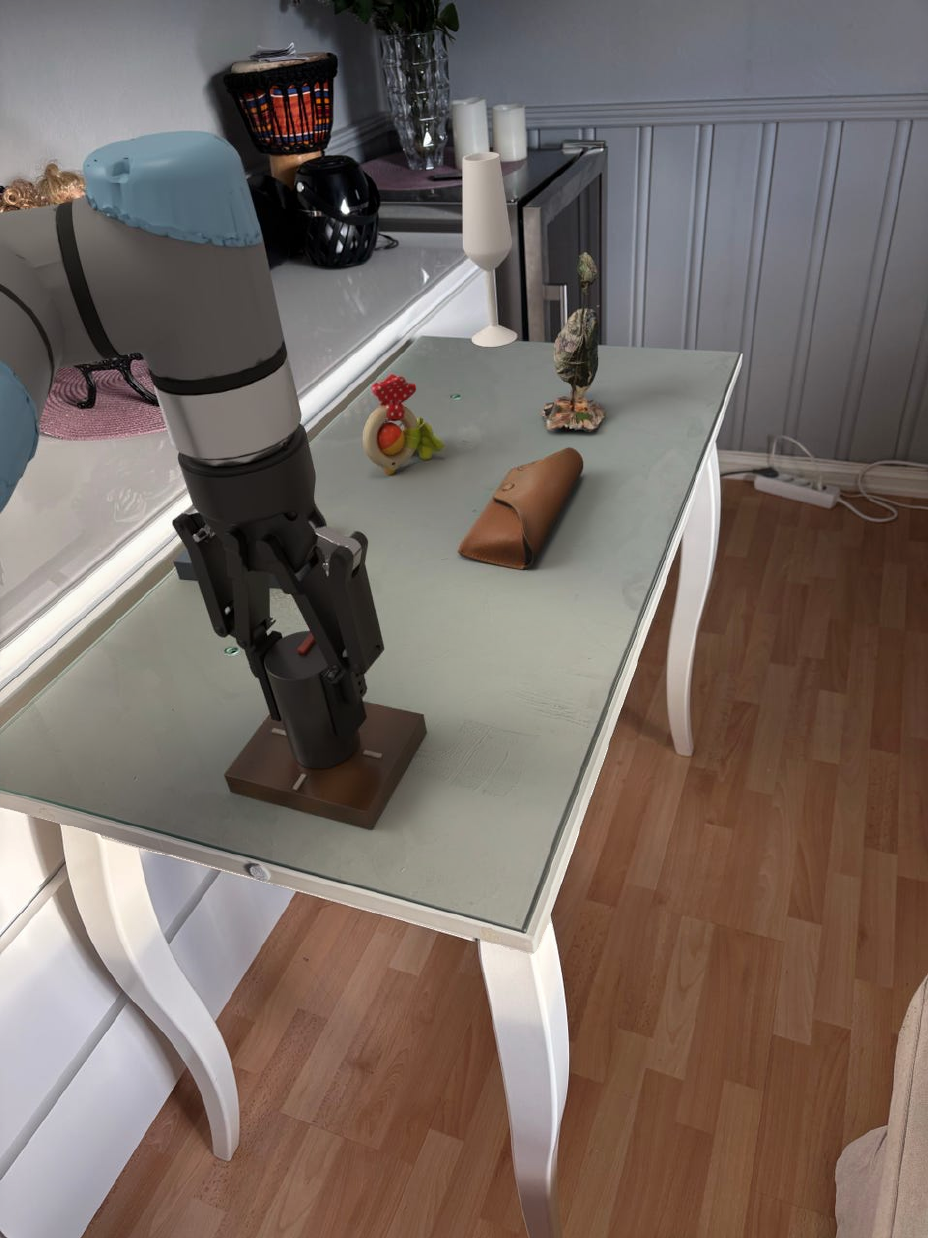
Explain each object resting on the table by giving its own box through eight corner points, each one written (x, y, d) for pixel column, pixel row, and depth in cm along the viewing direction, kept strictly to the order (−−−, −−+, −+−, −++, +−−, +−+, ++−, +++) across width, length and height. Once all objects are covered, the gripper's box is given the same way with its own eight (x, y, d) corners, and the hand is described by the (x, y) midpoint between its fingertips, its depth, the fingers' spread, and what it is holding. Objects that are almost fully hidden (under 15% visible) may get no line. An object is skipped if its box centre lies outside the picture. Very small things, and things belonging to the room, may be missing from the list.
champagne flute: (464, 345, 130) (447, 163, 115) (480, 327, 135) (465, 150, 120) (509, 348, 128) (497, 162, 113) (523, 329, 133) (513, 149, 118)
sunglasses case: (510, 464, 102) (537, 420, 97) (563, 497, 102) (592, 455, 97) (452, 556, 89) (480, 510, 84) (513, 593, 89) (545, 550, 85)
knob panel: (230, 792, 69) (222, 773, 67) (295, 702, 76) (290, 683, 74) (371, 830, 65) (366, 811, 63) (427, 732, 72) (423, 712, 70)
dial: (339, 776, 66) (314, 682, 60) (278, 760, 68) (248, 668, 62) (371, 726, 70) (350, 634, 64) (312, 712, 72) (287, 621, 66)
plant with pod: (619, 397, 113) (621, 229, 101) (594, 440, 105) (593, 264, 93) (556, 392, 116) (551, 228, 103) (527, 433, 108) (518, 262, 96)
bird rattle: (412, 496, 103) (459, 438, 105) (368, 431, 95) (420, 369, 97) (375, 481, 107) (422, 425, 109) (330, 416, 98) (381, 357, 100)
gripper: (408, 425, 51) (451, 715, 66) (162, 390, 59) (250, 658, 73) (338, 492, 46) (401, 790, 61) (78, 444, 54) (190, 721, 68)
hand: (318, 718), depth 67 cm, fingers closed on dial, 5 cm apart
